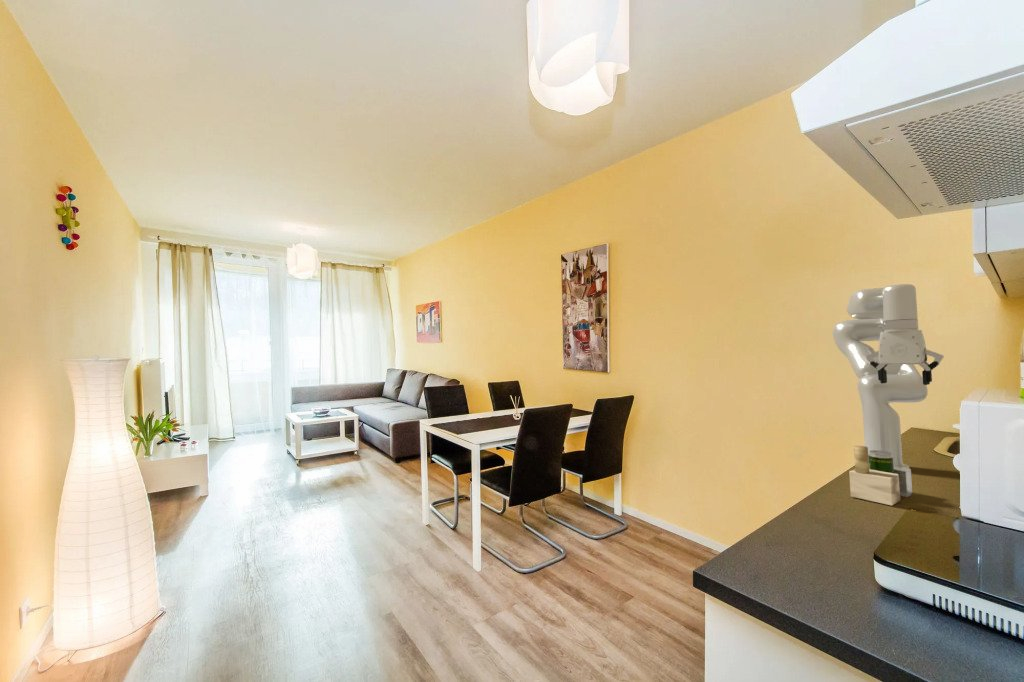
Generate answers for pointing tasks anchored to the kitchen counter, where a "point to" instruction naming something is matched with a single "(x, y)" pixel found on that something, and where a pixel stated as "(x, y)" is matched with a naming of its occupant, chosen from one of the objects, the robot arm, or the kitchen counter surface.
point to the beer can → (881, 461)
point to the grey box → (904, 480)
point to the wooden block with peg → (872, 481)
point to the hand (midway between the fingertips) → (904, 383)
